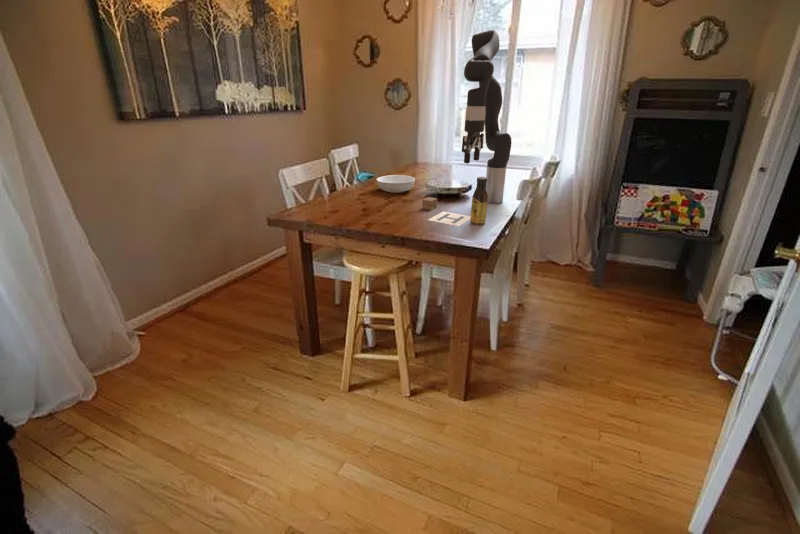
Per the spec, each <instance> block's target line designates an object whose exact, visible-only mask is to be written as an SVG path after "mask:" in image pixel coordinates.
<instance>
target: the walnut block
mask: <svg viewBox="0 0 800 534" xmlns="http://www.w3.org/2000/svg"><path fill="white" fill-rule="evenodd" d="M421 205H422V206H421V207H422V209H423V210H429V211H433V210H434V209H436V208H438V198H436V197H429V196H428V197H425V198H424V199H422V203H421Z"/></svg>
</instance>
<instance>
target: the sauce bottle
mask: <svg viewBox="0 0 800 534" xmlns="http://www.w3.org/2000/svg"><path fill="white" fill-rule="evenodd" d="M486 182H487V178H486V176H478V177H477V178H476V187H475V189H474V191H473V195H472V198H471V199H472V200H471V208H470V216H471V218H470V220H469V221H470V223H469V224H471V225H472V226H477V227H478V226H484V225H485V223H486V220H487V219H486V218H487V209H488V202H487V199H488V193H487V191H486Z"/></svg>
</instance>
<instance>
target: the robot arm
mask: <svg viewBox="0 0 800 534" xmlns="http://www.w3.org/2000/svg"><path fill="white" fill-rule="evenodd" d="M499 36H500V35H499V33H498V31H497V30H495V29H490V30H489V29H488V30H485V31H482V32H479V33H478V32H477V33H475V34H473V35H472V37H471V48H472V54H473V57H472V58H470V59H469V60H467V62H466V64H465V66H464V69H463V76H464V79H466V81H468V82H470V83H471V82H473V83H477V82H478V87H475V88H471V89H469V90H468V91H467V99H466V101H467V102H466V109H465V117H464V129H463V130H464V132H465V133H467V134H466V135H463V136H462V140H461V141H462V144H461V152H462V153H463V154H464V159H463V163H464V164H470V162H471V152H472V150H473V161H479V160H480V152H481V150H482V149H484V139H485V146H486V148H487V149H488V151H491V152H493V156H492V158H490V159H488V160H487V164H486V175H485V177H486V178H487V182H486V191H487V193H488V199H487V204H501V203H503V202H502V201H504V200H503V199H504V193H505V192H504V191H505V184H506V183H505V182H506V176H507V175H506V173H507V165H508V162H509V160H510V155H511V148H512V137H511V135H510V134H509V133H508V132H504V131H500V126H499V116H500V113H501V109H502V105H503V95H502V86H501V84H500V83H499V81H498V80H497V79H496V77H495V76H493V74H494V71H495V70H494V69H495V67H494V63H493V62H492V60H493V59H494V57H495V56H496V55H497V54H498V52H499V50H500V45H501V44H500V37H499ZM484 132H485V134H484ZM484 137H485V138H484Z"/></svg>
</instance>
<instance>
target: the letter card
mask: <svg viewBox="0 0 800 534" xmlns="http://www.w3.org/2000/svg"><path fill="white" fill-rule="evenodd" d="M470 218H471V215H466V214H459V213H454V212H448V211H444V210H443V211H442V212H440V213H438V214H436V215H433V216H432V217H430V218H428V219H427V221H429V222H430V221H432V222H437V223H441V224H446V225H452V226H457V227H460V226H461V225H463V224H465V223H466V222H468V221H470Z"/></svg>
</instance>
